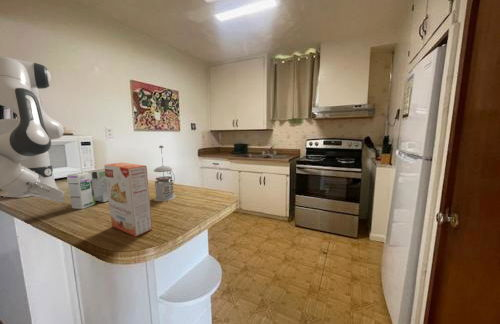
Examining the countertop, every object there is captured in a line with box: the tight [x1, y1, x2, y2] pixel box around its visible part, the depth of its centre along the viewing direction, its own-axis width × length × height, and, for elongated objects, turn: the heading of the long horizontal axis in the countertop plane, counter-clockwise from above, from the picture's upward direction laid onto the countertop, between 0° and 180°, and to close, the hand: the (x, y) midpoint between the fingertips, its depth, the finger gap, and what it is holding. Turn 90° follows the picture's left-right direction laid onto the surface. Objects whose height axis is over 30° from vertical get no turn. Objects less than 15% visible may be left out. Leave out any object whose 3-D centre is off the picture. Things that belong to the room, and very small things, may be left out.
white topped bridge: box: [83, 167, 106, 179], centre depth 99 cm, size 16×10×14 cm
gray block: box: [92, 172, 109, 203], centre depth 94 cm, size 3×8×13 cm, turn 65°
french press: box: [153, 145, 177, 202], centre depth 97 cm, size 10×12×25 cm
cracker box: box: [104, 162, 153, 238], centre depth 65 cm, size 14×6×21 cm, turn 58°
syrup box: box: [66, 171, 96, 210], centre depth 87 cm, size 6×6×14 cm
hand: (61, 200), depth 81 cm, fingers closed
